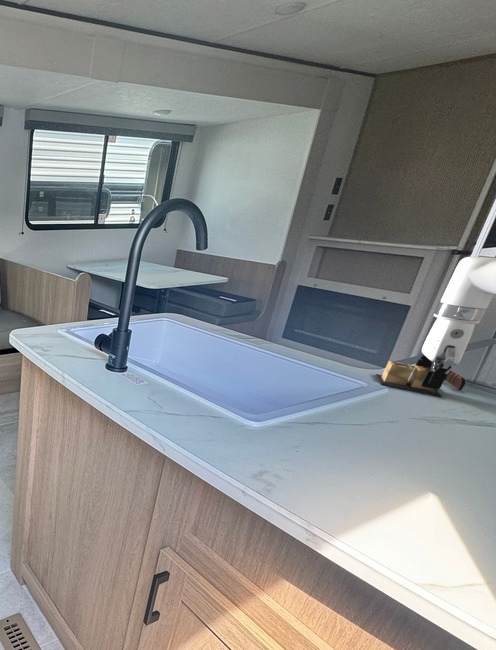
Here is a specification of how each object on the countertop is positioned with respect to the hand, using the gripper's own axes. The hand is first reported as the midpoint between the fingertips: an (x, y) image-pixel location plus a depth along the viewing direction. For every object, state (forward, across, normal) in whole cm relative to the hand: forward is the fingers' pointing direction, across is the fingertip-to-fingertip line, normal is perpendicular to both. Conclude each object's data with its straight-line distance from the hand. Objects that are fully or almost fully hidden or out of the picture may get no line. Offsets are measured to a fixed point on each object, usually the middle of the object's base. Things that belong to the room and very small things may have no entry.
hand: (424, 381), depth 105 cm
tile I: (+2, 0, 0) cm, 2 cm away
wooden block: (+2, 0, +6) cm, 6 cm away
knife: (+2, +13, -6) cm, 15 cm away
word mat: (+2, 0, +3) cm, 3 cm away
